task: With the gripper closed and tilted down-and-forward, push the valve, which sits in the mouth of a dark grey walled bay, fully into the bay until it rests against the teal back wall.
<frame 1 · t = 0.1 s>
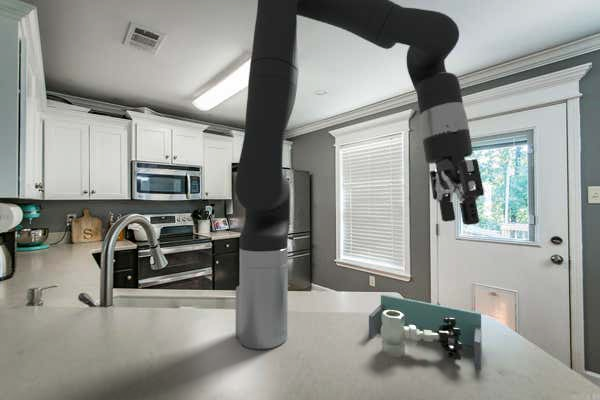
hand: (459, 222, 48), 22 cm above the worktop, tool pointing down, fingers open, 8 cm apart
walled bay: (423, 341, 50), on the worktop
valve: (417, 355, 46), on the worktop
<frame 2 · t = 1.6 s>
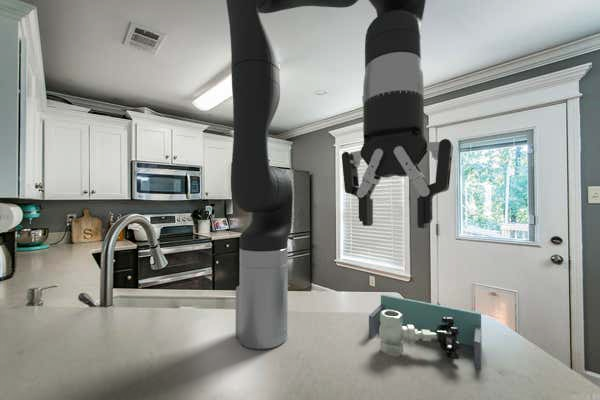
hand: (393, 226, 35), 23 cm above the worktop, tool pointing down, fingers open, 6 cm apart
nothing on the worktop moved.
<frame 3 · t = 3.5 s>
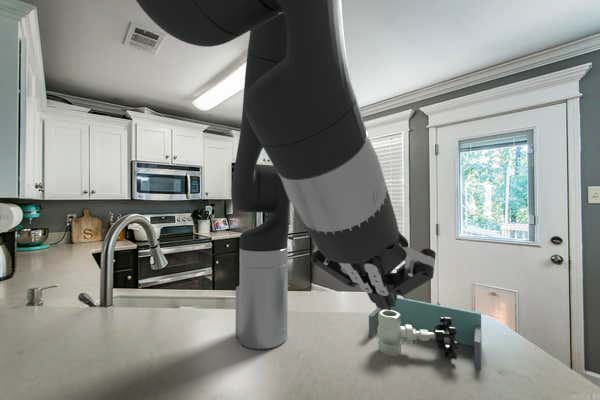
hand: (385, 301, 32), 14 cm above the worktop, tool tilted 45°, fingers closed
nothing on the worktop moved.
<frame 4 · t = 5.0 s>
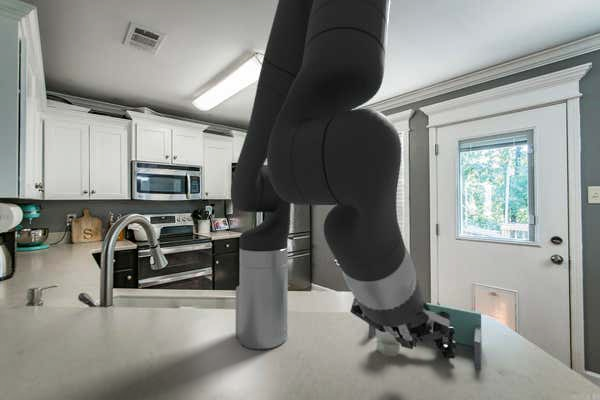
hand: (408, 341, 40), 5 cm above the worktop, tool tilted 45°, fingers closed
nothing on the worktop moved.
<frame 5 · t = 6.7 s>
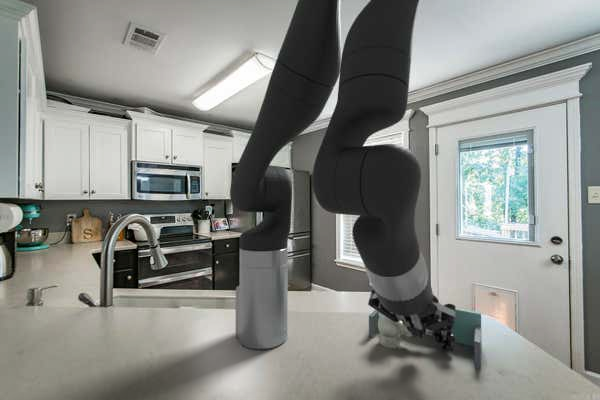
hand: (417, 331, 46), 4 cm above the worktop, tool tilted 45°, fingers closed
valve: (412, 347, 49), on the worktop, touching gripper
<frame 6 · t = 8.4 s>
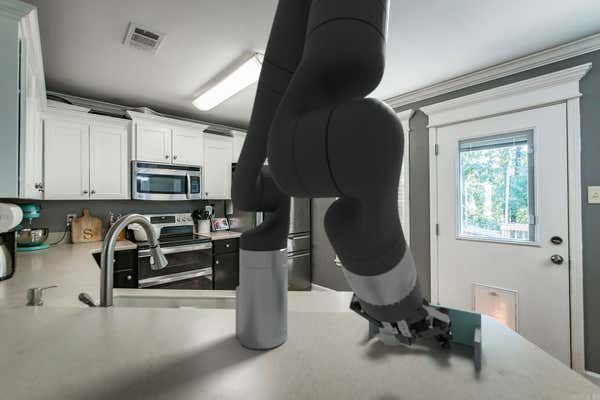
hand: (406, 337, 40), 6 cm above the worktop, tool tilted 45°, fingers closed
valve: (411, 345, 49), on the worktop
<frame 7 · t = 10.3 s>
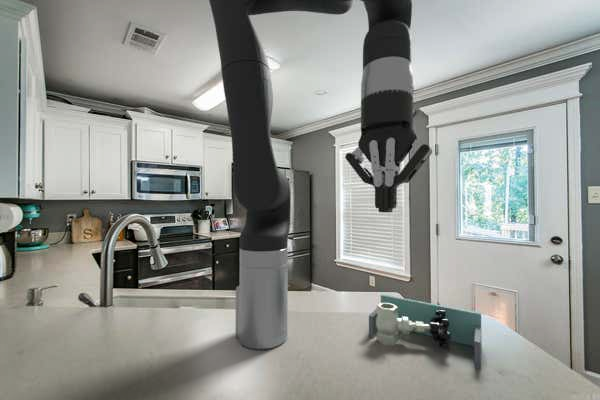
hand: (385, 212, 40), 24 cm above the worktop, tool pointing down, fingers closed
nothing on the worktop moved.
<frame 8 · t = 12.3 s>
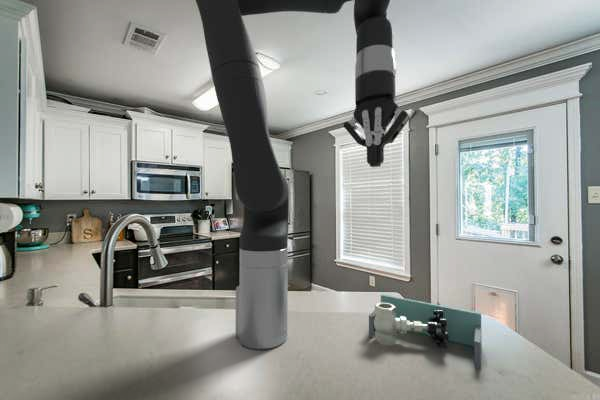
hand: (375, 166, 52), 33 cm above the worktop, tool pointing down, fingers closed
nothing on the worktop moved.
at the end: valve inside the target area (3.0 cm from its centre), on the worktop; valve moved 3.6 cm from its start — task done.
